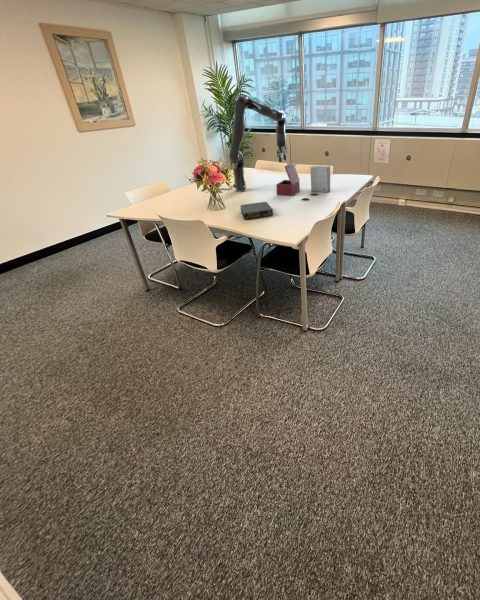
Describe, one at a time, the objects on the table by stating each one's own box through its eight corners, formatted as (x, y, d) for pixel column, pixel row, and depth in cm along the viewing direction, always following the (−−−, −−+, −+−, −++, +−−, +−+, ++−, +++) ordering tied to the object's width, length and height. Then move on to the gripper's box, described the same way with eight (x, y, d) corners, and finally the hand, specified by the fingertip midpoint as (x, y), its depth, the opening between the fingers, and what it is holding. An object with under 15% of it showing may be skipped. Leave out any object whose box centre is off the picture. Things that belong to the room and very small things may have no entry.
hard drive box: (330, 190, 276) (330, 165, 265) (327, 192, 270) (327, 167, 259) (314, 188, 282) (313, 165, 270) (310, 191, 276) (310, 167, 265)
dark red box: (277, 194, 272) (276, 184, 267) (285, 190, 284) (284, 179, 279) (292, 196, 267) (291, 185, 262) (299, 191, 278) (299, 180, 273)
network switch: (245, 221, 221) (244, 214, 219) (237, 211, 239) (236, 205, 237) (276, 215, 229) (276, 208, 226) (266, 206, 247) (265, 200, 244)
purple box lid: (284, 166, 256) (289, 164, 253) (292, 162, 267) (297, 160, 264) (291, 185, 262) (296, 182, 259) (298, 180, 273) (304, 178, 270)
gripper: (281, 138, 259) (282, 159, 269) (272, 141, 249) (274, 162, 258) (289, 138, 257) (290, 159, 266) (281, 141, 246) (283, 163, 255)
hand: (282, 161), depth 262 cm, fingers open, 8 cm apart
